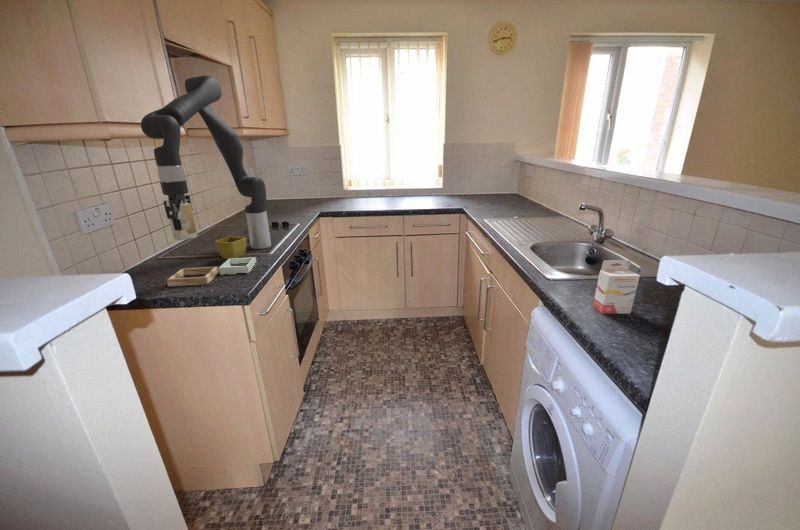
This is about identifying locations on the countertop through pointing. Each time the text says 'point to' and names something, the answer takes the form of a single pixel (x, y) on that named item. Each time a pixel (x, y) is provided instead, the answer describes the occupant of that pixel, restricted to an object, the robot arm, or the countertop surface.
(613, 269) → the ink cartridge box
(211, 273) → the frame
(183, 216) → the skincare box
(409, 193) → the countertop surface
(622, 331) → the countertop surface
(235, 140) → the robot arm
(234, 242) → the flower pot
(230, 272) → the parts tray
